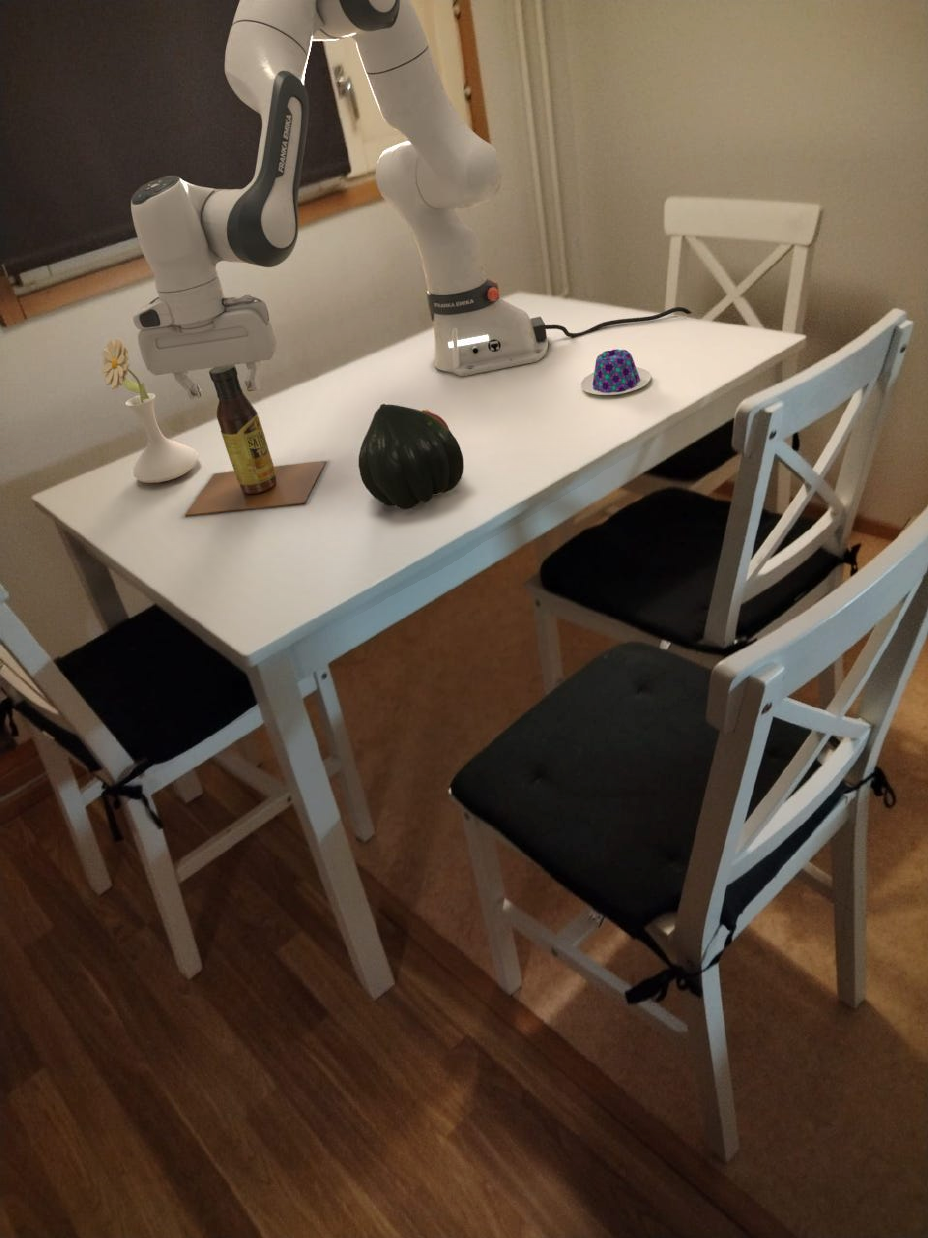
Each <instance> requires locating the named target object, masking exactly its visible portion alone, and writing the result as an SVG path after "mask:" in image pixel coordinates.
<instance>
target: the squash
mask: <svg viewBox="0 0 928 1238" xmlns="http://www.w3.org/2000/svg"><path fill="white" fill-rule="evenodd" d="M448 428H449V427H448ZM448 428H447V427H446V426H445V425H444V424H443V423H442V422H441V421H440V420H439V419H438V418H436V417H434V416H433V415H431V414H428V413H425V412H422V410H419V409H416V408H412V407H407V406H402V405H397V404H386V403H381V404H380V405H379V407H378V409H377V410H376V411H375V413H374V415H373V418H372V419H371V422H370V425H369V427H368V429H367V432H366V433H365V436H364V438H363V439H362V443H361V446H360V449H359V454H358V471H359V476H360V478H361V481H362V483H363V485H364V487H365V488H366V489H367V491H368V492H369V493H370V494H371V495H372V497H374V499H376V500H377V501H378V502H380V503H382V504H384V505H386V506H390V507H396V508H398V509H401V510H410V509H413V508H415V507H416V506H417V505H418V504H419V503H420V502H421V503H428V502H430V501H431V500H432V499H433V496H434V495H436V496H437V495H439V494H445V493H448V492H450V491H452V490H453V489H455V488H456V487H457V486H458V484H459V483H460V481H461V480H462V478H463V474H464V467H465V465H464V455H463V452H462V448H461V446H460V443H459V442H458V440H457V438H456V437H455V435H453V433H452V432H451V430H450V428H449V429H448Z"/></svg>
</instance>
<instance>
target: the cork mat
mask: <svg viewBox="0 0 928 1238" xmlns="http://www.w3.org/2000/svg"><path fill="white" fill-rule="evenodd" d="M326 463H327V461H326V460H322V461H321V460H320V461H313V462H304V463H295V464H286V465H277V466H274V468H275V471H276V473H275V475H276V484H275V485H274V486H273V487H272V488H270V489H269V490H267V491H264V492H261V493H258V494H246V493H244V492H243V491H242V490H241V487H240V484H239V483H238V481H237V478H236V476H235V473H234V470H233V471H223V472H215V473H213V474H212V475H211V477H210V478H209V480H208V481H207V483H206V484H205V486H204V487H203V488H202V490H201V492H200V493H199V494H198V496H197V497H196V499H195V500H194V501H193V503H192V504H191V505H190V507H189V509H188V510H187V511H186V513H185V514H184V515H185V517H192V516H202V515H210V514H220V513H230V512H241V511H249V510H251V511H252V510H259V509H260V510H261V509H270V508H279V507H287V506H288V507H289V506H297V505H306V503H307V501H308V499H309V497H310V495H311V494H312V491H313V489H314V487H315V485H316V483H317V482H318V480H319V477H320V475H321V474H322V471H323V470H324V467H325V465H326Z"/></svg>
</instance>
